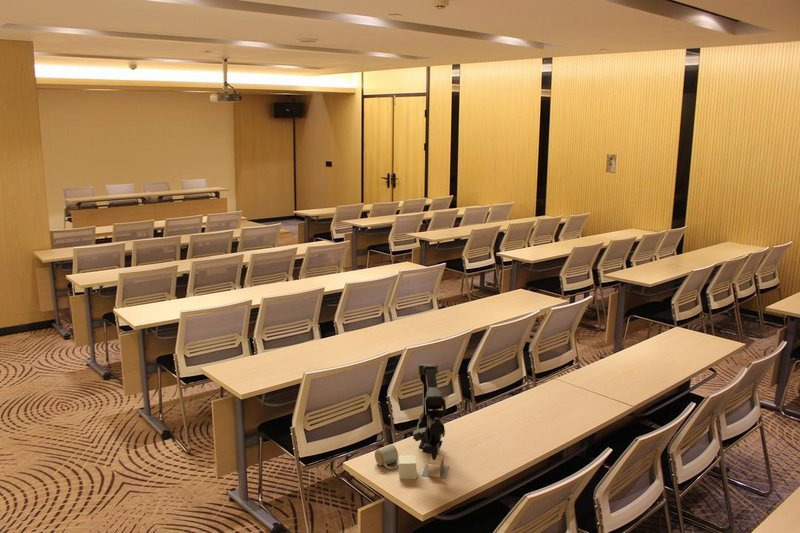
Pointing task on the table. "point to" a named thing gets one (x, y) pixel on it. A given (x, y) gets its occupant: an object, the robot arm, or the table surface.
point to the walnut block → (435, 466)
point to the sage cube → (407, 466)
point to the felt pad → (443, 473)
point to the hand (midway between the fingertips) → (434, 459)
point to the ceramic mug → (387, 456)
